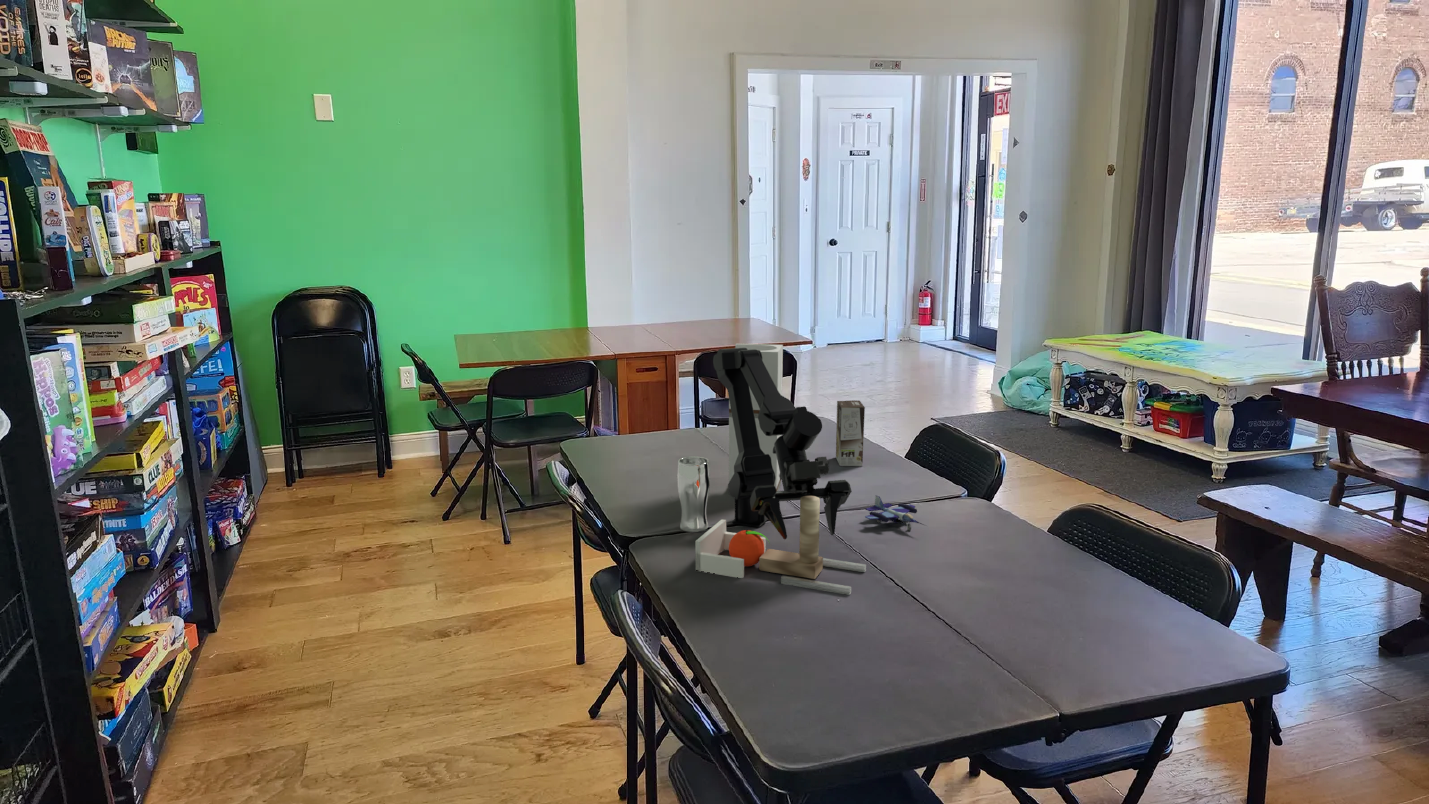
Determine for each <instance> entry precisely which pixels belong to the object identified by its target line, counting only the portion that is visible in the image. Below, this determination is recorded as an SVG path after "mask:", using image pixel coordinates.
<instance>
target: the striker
mask: <svg viewBox="0 0 1429 804" xmlns="http://www.w3.org/2000/svg"><path fill="white" fill-rule="evenodd" d="M820 500H821V498H818V497H816V496H803V497H801V498H800V500H799V501H800V503H799V505H800V506H799V511H800V512H799V550H798V551H799V552H794V551H793V552H792V551H787V550H786V551H785V550H780V549H779V550H778V549H773V548H766V549H767V550H766V551H765V553H764V554H763V555H762V556H761V557H760V558H759V562H758V563H759V565H758V568H759V569H758V570H759V571H762V572H768V573H769V572H770V573H774V574H775V573H776V574H782V575H785V576H792V577H798V578H804V579H810V580H815V579H817V577H818V575H820V573H821V572H822V570H823V568H824V566H823V558H824V557H823V556H819V555H820V554H819V552H820V551H819V549H820V547H819V546H820V512H821V511H820V510H821V509H820V508H821V505H820V504H821V503H820V502H821V501H820Z"/></svg>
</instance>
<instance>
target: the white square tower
mask: <svg viewBox="0 0 1429 804" xmlns="http://www.w3.org/2000/svg"><path fill="white" fill-rule="evenodd" d="M734 346H735V347H734V348H747V349H748V350H752V349H756V350H759V351H760V352H761V354H762V361H763V363H764V365H765V366H766V368H767V370H768V372H769V374H770V376H771V378H772V380H773V382H774V384H775V386H776V388H777V390H778V391H779V393H780V394H781V395H782V396H783V363H784V362H783V358H784V357H783V356H784V355H783V354H784V344H770V343H769V344H768V343H767V344H761V343H758V344H757V343H735V345H734ZM749 389H750V387H749ZM750 395H751V400H752V406H753V411H754V417H755V422H756V428H757V433H758V438H759V444H760V449H761V450H762V451H763V452H764V453H765V454H769V455H770V457H771V462H772V467H773V470H774V473H775V477H776V478H775V484H774V486H775V488H776V491H780V488H781V486H782V480H780V477H779V474H780V470H779V465H778V461H777V456H776V454H774V453H773V447H774V443H775V442H776V440H777V439H778V438H779V437H780V436H782V435H777V436H766V435H765V434H764V433H763V431H762V430H761V428H760V425H759V420H758V415H759V411H760V408H759V406H758V403H757V401H756V399H755V397H754V395H753V393H752V391H751V389H750ZM738 454H739V452H738V446H737V440H736V435H735V429H734V423H733V418H732V412H731V406H730V401H729V400H728V483H729V482H730V480H731V478H732V477H733V475H734V465H735V462H736V459H737V457H738Z"/></svg>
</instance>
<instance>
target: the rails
mask: <svg viewBox="0 0 1429 804" xmlns="http://www.w3.org/2000/svg"><path fill="white" fill-rule="evenodd" d="M823 567H827V568H834V569H838V570H839V569H840V570H846V571H847V570H848V571H854V572H859V573H861V572H862V573H866V571H867V564H864V563H860V562H859V563H857V562H851V561H845V560H838V559H831V558H825V557H823ZM780 584H781V585H786V586H792V585H793V586H794V587H798V588H804V589H805V588H806V589H811V590H816V591H817V590H818V591H824V592H828V593H829V592H830V593H835V594H842V595H845V596H850V595H851V593H852V586H849V585H842V584H837V583H833V582H832V583H830V582H825V581H818V580H814V579H808V578H802V577H796V576H790V575H782V576H781V577H780Z"/></svg>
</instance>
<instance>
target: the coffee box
mask: <svg viewBox="0 0 1429 804" xmlns="http://www.w3.org/2000/svg"><path fill="white" fill-rule="evenodd" d="M865 409H866V407H865V405H863V403H862V401H861V400H854V399H853V400H837V401H836V435H835V439H836V442H835V458H836V460H837V461H836V462H837V464H838V466H839V467H863V463H864V461H863V459H864V437H865V436H864V435H865V412H866V411H865Z"/></svg>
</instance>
